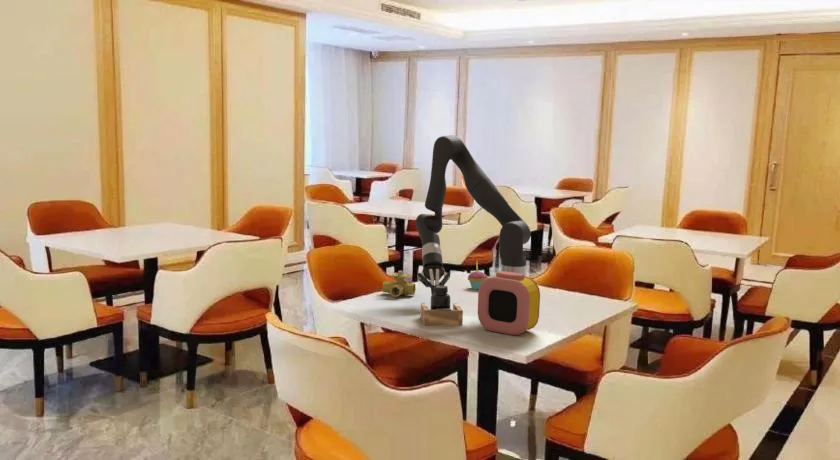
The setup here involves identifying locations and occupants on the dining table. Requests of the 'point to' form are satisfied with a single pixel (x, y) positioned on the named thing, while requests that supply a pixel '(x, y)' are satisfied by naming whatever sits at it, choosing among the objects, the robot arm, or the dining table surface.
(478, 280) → the cupcake
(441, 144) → the robot arm
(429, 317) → the frame
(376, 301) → the dining table surface
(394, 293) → the ball valve
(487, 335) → the dining table surface
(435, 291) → the supplement bottle
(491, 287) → the alarm clock
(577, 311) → the dining table surface
